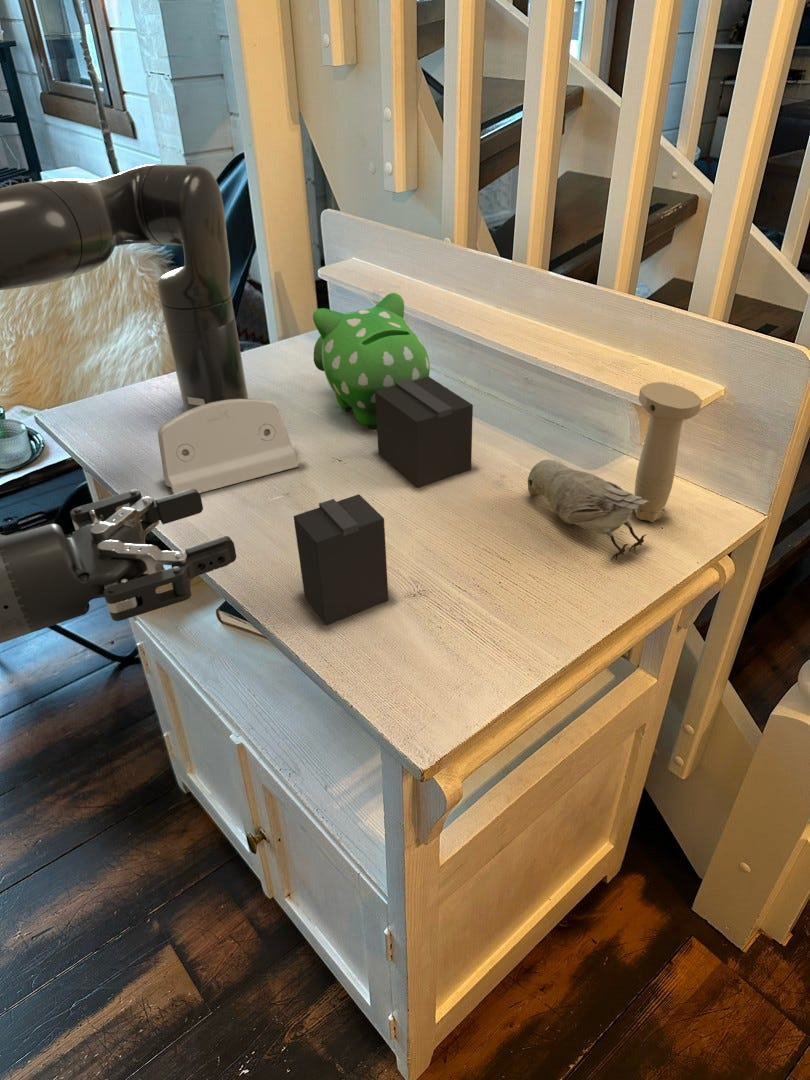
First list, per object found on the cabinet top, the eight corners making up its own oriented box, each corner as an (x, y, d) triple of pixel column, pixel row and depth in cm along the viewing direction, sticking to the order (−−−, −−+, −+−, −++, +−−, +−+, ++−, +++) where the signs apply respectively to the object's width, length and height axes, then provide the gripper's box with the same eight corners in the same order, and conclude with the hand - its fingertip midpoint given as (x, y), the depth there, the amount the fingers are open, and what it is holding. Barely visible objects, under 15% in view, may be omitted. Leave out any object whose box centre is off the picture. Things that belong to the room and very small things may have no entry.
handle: (653, 535, 84) (678, 412, 75) (612, 508, 88) (630, 389, 79) (684, 521, 86) (711, 400, 77) (642, 496, 90) (663, 378, 81)
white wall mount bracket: (172, 500, 92) (149, 419, 89) (167, 494, 96) (144, 416, 93) (301, 465, 98) (283, 388, 95) (291, 461, 102) (273, 387, 99)
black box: (304, 597, 77) (292, 512, 71) (365, 573, 80) (358, 490, 74) (326, 625, 73) (315, 538, 67) (388, 600, 76) (384, 514, 70)
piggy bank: (387, 376, 120) (382, 281, 111) (448, 420, 107) (449, 316, 99) (304, 398, 115) (293, 299, 106) (359, 447, 102) (351, 339, 93)
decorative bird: (547, 488, 92) (552, 433, 88) (651, 552, 81) (663, 493, 77) (513, 503, 90) (517, 447, 85) (616, 571, 79) (626, 511, 75)
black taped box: (378, 453, 100) (374, 388, 95) (429, 437, 103) (428, 373, 98) (417, 487, 93) (416, 419, 88) (471, 469, 96) (473, 401, 91)
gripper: (7, 600, 50) (239, 525, 57) (-17, 503, 60) (182, 449, 67) (42, 680, 55) (253, 602, 61) (13, 577, 65) (198, 519, 71)
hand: (216, 522), depth 64 cm, fingers open, 8 cm apart
